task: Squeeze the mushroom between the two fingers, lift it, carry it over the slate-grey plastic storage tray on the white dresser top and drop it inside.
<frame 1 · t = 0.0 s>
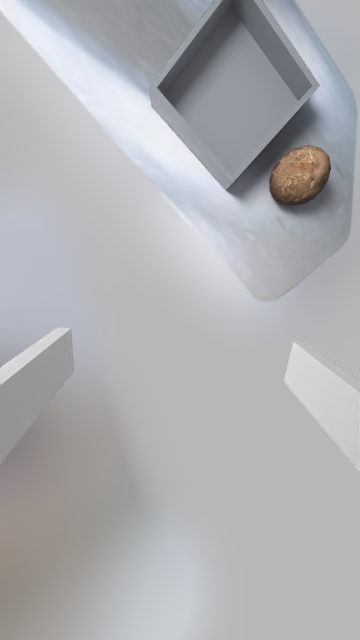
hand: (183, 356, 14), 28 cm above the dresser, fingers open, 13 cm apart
mushroom: (288, 183, 37), on the dresser
tray: (227, 105, 33), on the dresser
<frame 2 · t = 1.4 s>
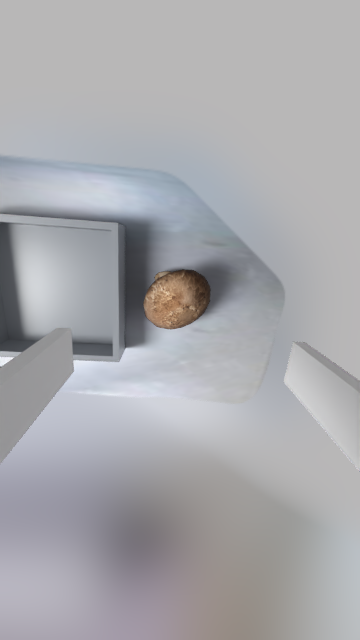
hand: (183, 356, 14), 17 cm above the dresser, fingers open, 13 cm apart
mushroom: (176, 295, 30), on the dresser
tray: (62, 288, 29), on the dresser
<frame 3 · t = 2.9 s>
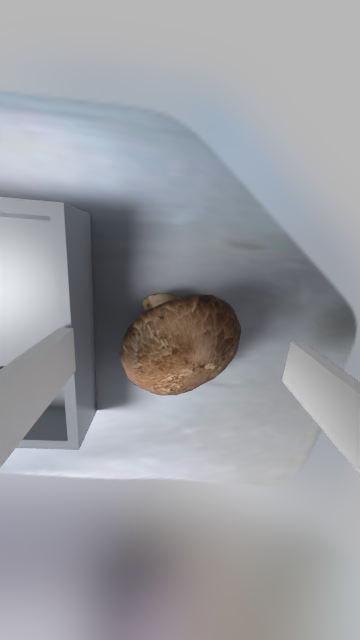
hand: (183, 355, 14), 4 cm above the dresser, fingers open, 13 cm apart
mushroom: (179, 329, 18), on the dresser
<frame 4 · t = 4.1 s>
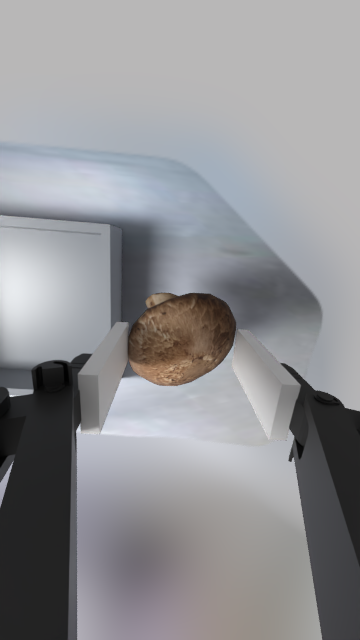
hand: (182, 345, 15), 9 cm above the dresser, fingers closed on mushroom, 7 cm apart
mushroom: (180, 326, 20), point 4 cm above the dresser, touching gripper
tray: (43, 305, 23), on the dresser
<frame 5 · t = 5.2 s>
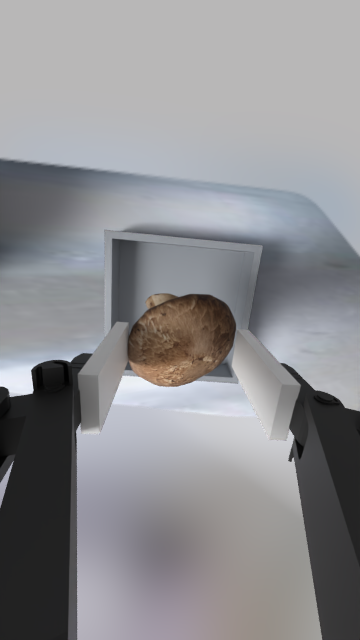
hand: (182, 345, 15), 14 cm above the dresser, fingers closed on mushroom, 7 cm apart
mushroom: (180, 327, 20), point 9 cm above the dresser, touching gripper
tray: (177, 306, 29), on the dresser
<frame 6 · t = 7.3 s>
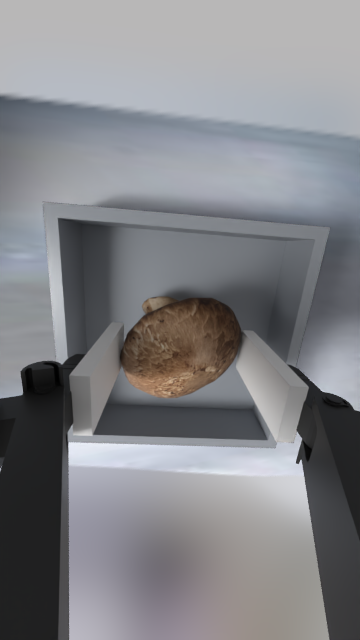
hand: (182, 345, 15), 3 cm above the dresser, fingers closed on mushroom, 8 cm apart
mushroom: (180, 331, 18), resting on tray, touching gripper
tray: (178, 327, 19), on the dresser
when the fingers open (3 cm above the dresser, at t = 7.8 s): mushroom stays where it is, resting on tray.
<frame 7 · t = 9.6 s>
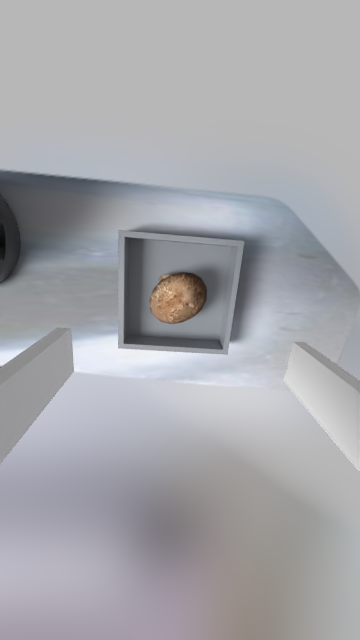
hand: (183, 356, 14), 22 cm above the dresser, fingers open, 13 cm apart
mushroom: (177, 294, 34), resting on tray
tray: (177, 292, 35), on the dresser
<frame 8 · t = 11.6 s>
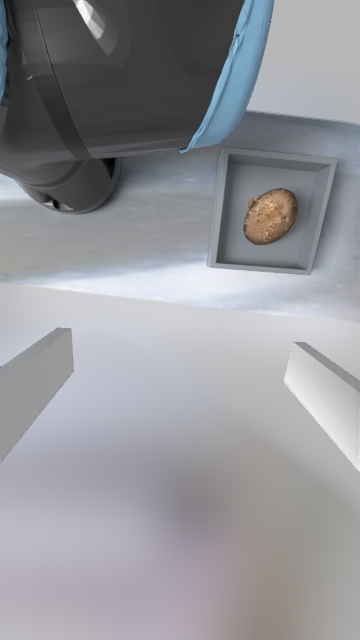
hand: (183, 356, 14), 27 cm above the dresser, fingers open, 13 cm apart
mushroom: (261, 220, 37), resting on tray
tray: (260, 219, 37), on the dresser
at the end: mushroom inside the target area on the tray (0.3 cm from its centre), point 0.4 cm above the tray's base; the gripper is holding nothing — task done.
